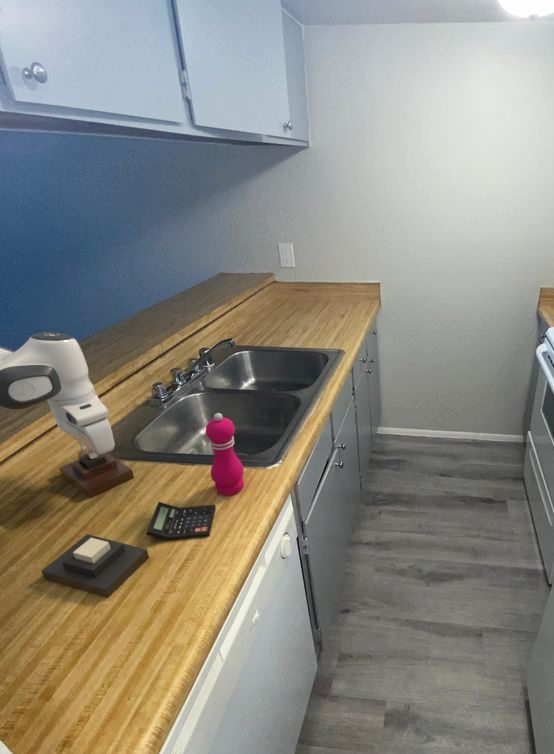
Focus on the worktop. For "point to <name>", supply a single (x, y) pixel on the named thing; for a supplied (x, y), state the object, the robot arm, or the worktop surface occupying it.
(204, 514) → the calculator
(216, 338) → the worktop surface
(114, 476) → the key block
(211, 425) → the pepper mill
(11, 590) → the worktop surface
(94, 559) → the near key
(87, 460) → the far key
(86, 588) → the key block
